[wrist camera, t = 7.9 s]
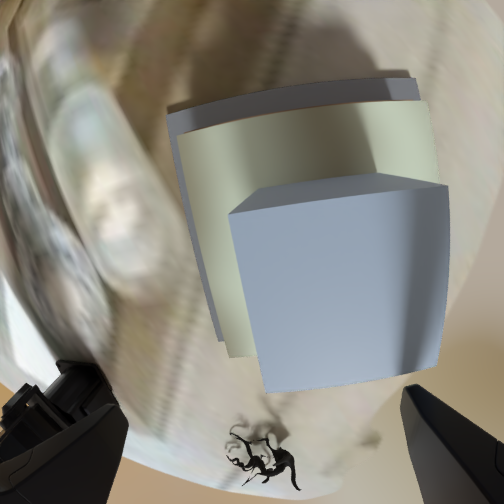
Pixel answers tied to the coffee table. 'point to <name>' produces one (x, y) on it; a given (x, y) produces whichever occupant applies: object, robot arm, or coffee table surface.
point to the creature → (281, 458)
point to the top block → (344, 278)
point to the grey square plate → (268, 104)
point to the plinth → (290, 175)
